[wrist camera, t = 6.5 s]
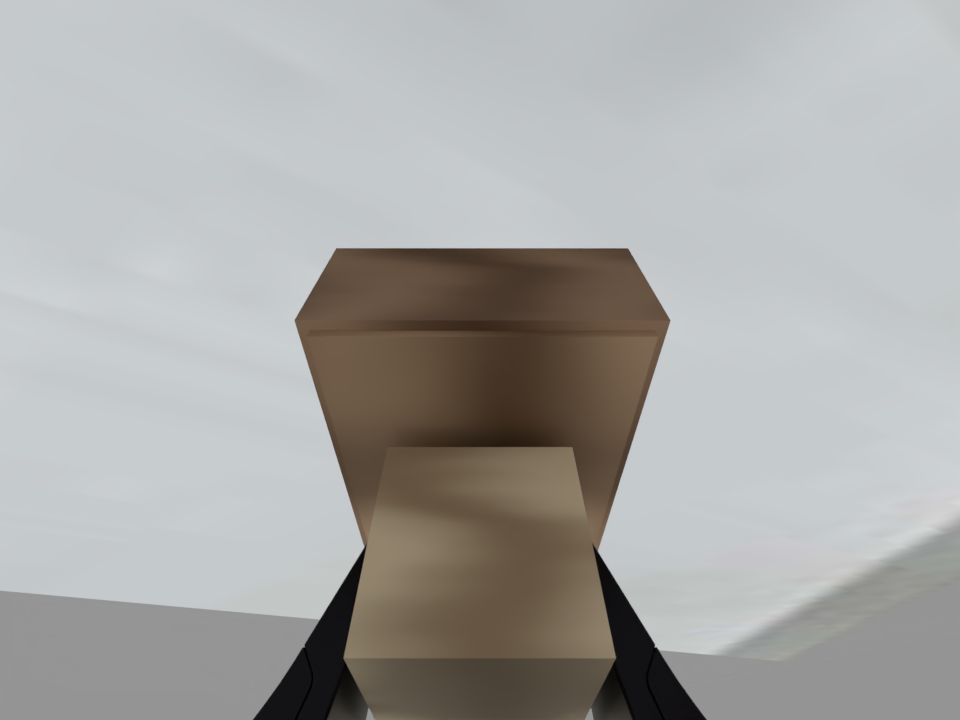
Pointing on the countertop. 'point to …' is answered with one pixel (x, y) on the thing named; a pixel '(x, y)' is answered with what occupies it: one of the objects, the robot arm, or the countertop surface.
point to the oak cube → (479, 589)
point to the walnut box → (482, 357)
